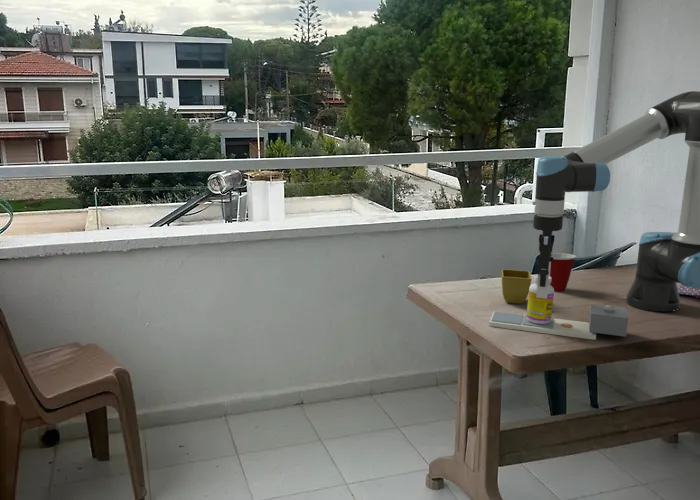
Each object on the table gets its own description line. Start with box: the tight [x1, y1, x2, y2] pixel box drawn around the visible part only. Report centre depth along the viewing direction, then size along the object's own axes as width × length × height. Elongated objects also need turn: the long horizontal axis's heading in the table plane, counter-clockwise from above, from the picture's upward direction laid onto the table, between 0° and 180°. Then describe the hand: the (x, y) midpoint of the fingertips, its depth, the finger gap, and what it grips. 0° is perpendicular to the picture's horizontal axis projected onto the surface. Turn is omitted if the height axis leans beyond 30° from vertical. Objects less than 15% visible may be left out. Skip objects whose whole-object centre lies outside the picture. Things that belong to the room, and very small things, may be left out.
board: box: [488, 310, 597, 341], centre depth 180 cm, size 28×10×2 cm, turn 71°
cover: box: [588, 303, 629, 337], centre depth 173 cm, size 9×9×6 cm
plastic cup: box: [549, 252, 577, 293], centre depth 214 cm, size 11×11×12 cm
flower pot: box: [501, 268, 533, 305], centre depth 201 cm, size 9×9×9 cm
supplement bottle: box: [526, 274, 555, 324], centre depth 178 cm, size 7×7×13 cm
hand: (543, 290), depth 178 cm, fingers open, 13 cm apart
